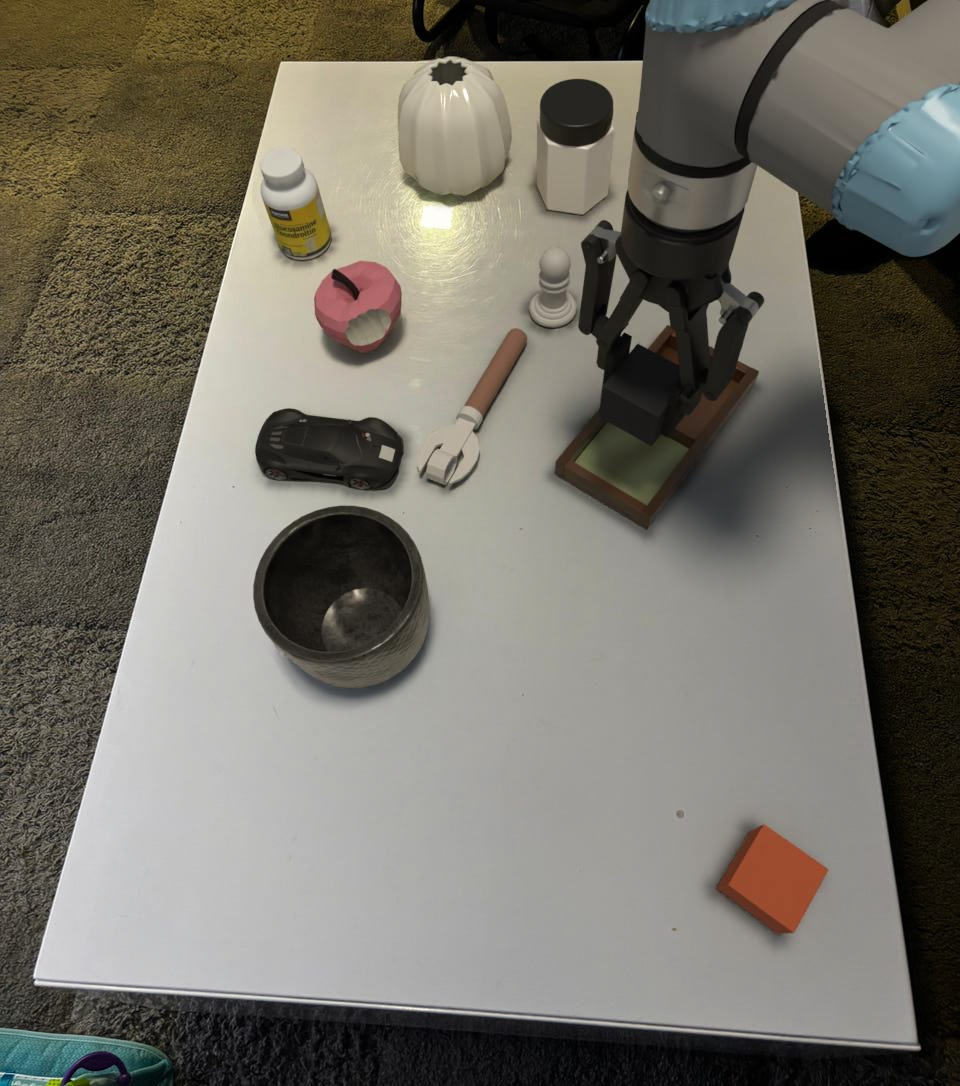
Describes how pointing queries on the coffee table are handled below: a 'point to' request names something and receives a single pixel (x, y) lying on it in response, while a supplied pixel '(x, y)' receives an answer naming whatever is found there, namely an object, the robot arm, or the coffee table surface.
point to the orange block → (772, 879)
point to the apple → (358, 304)
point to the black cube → (639, 394)
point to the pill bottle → (294, 204)
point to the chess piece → (553, 290)
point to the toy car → (329, 450)
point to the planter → (344, 595)
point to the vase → (453, 126)
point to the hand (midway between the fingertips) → (641, 408)
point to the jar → (574, 145)
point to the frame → (648, 449)
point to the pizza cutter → (469, 419)
